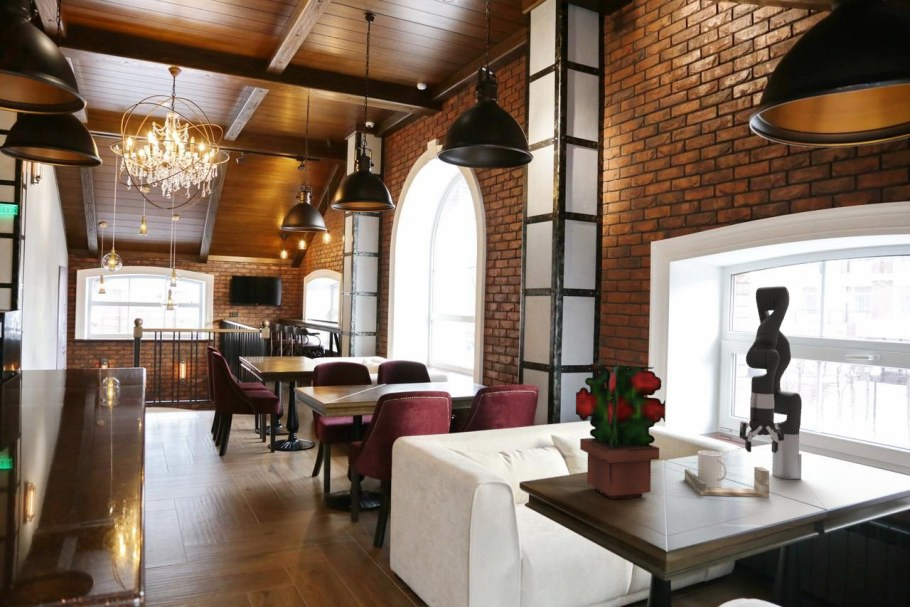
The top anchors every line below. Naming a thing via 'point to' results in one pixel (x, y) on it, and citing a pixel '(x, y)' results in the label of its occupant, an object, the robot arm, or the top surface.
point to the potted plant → (620, 428)
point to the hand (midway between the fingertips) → (761, 452)
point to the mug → (710, 468)
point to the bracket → (759, 488)
